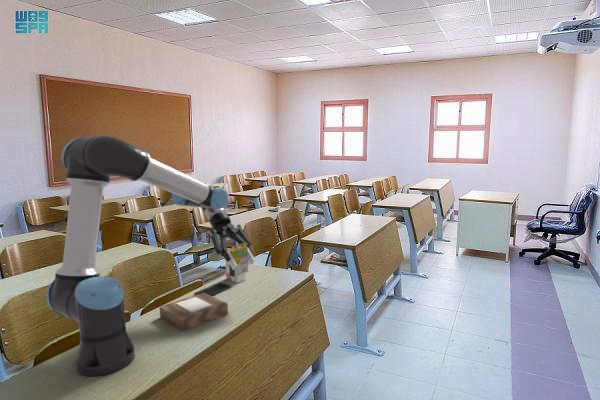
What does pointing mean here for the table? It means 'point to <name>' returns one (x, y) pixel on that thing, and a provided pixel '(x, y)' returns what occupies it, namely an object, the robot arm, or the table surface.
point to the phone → (214, 289)
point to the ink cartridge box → (235, 279)
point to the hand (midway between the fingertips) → (244, 264)
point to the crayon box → (239, 259)
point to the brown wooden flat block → (193, 311)
